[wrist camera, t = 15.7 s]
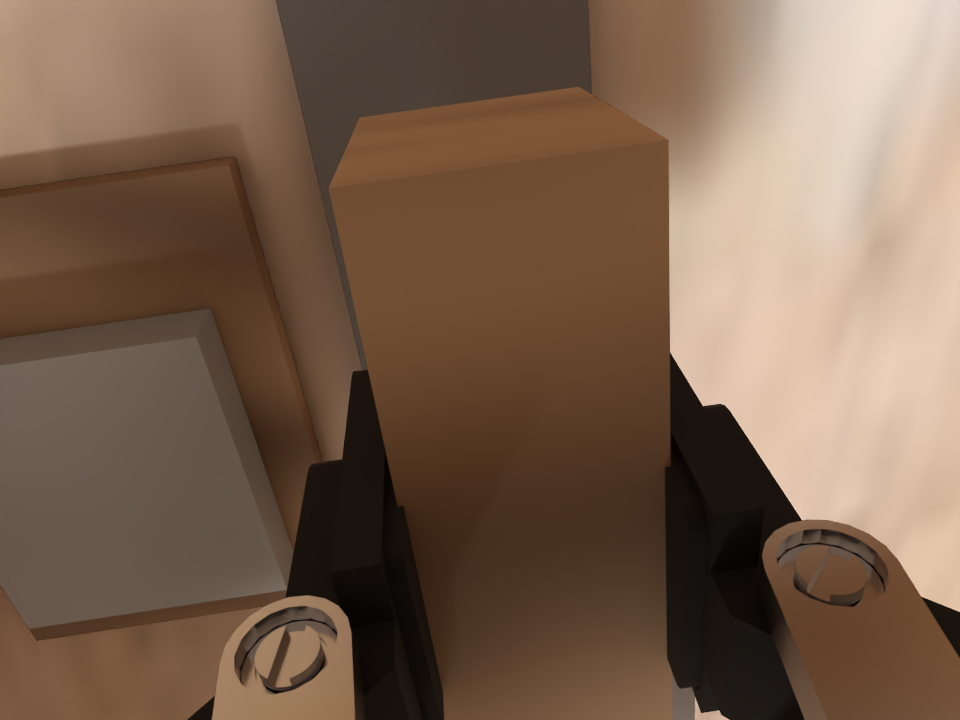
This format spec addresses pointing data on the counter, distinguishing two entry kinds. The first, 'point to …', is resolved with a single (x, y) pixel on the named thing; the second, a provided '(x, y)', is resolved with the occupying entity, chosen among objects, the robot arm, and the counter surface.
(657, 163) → the tall wooden pillar
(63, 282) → the board
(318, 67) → the dark grey rectangular slab
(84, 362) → the tile
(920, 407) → the counter surface
